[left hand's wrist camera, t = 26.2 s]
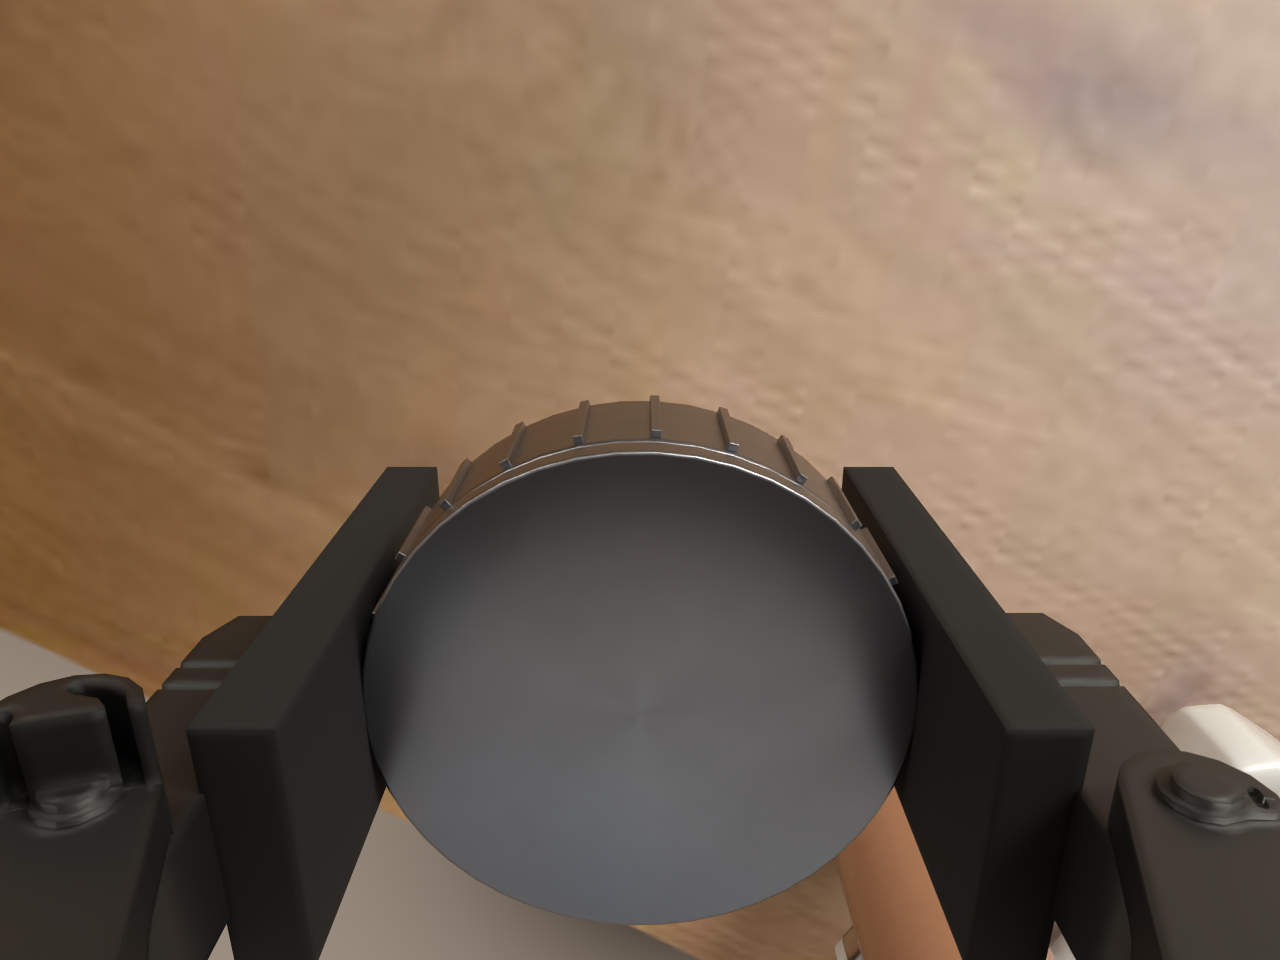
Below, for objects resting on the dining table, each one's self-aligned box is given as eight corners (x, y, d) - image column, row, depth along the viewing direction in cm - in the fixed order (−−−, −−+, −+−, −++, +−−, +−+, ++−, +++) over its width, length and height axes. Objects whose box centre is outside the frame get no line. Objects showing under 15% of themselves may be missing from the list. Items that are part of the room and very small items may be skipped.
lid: (610, 284, 10) (603, 314, 9) (983, 604, 12) (1045, 688, 10) (304, 650, 12) (245, 741, 10) (664, 889, 13) (667, 1006, 12)
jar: (892, 677, 35) (1086, 1095, 20) (974, 762, 36) (1212, 1214, 21) (783, 755, 36) (886, 1204, 21) (865, 835, 37) (1017, 1308, 22)
